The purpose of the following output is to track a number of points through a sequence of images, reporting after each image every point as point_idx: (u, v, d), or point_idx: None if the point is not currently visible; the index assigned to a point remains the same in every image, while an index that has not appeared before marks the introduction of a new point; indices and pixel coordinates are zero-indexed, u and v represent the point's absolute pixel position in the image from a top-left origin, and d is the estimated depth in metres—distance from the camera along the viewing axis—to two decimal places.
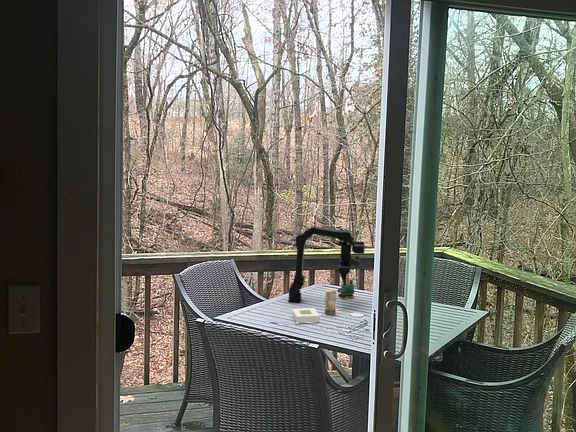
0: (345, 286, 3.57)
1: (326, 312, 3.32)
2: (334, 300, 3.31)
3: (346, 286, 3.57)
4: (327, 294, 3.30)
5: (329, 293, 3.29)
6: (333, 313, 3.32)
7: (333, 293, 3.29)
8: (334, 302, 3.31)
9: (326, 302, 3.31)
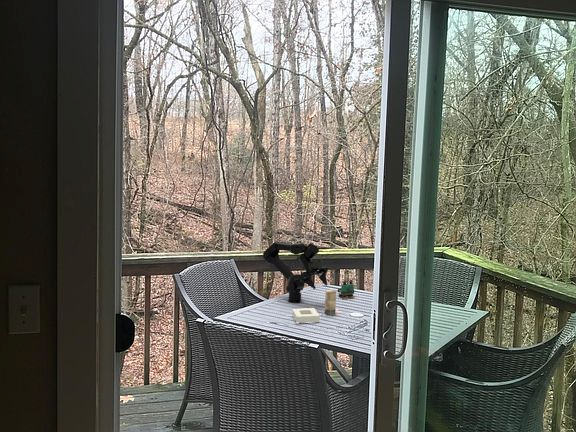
0: (345, 286, 3.57)
1: (326, 312, 3.32)
2: (334, 300, 3.31)
3: (346, 286, 3.57)
4: (327, 294, 3.30)
5: (329, 293, 3.29)
6: (333, 313, 3.32)
7: (333, 293, 3.29)
8: (334, 302, 3.31)
9: (326, 302, 3.31)
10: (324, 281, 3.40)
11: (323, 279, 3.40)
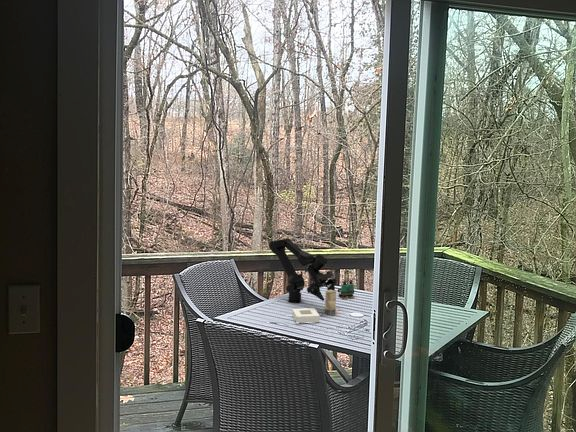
0: (345, 286, 3.57)
1: (326, 312, 3.32)
2: (334, 300, 3.31)
3: (346, 286, 3.57)
4: (327, 294, 3.30)
5: (329, 293, 3.29)
6: (333, 313, 3.32)
7: (333, 293, 3.29)
8: (334, 302, 3.31)
9: (326, 302, 3.31)
10: None
11: None
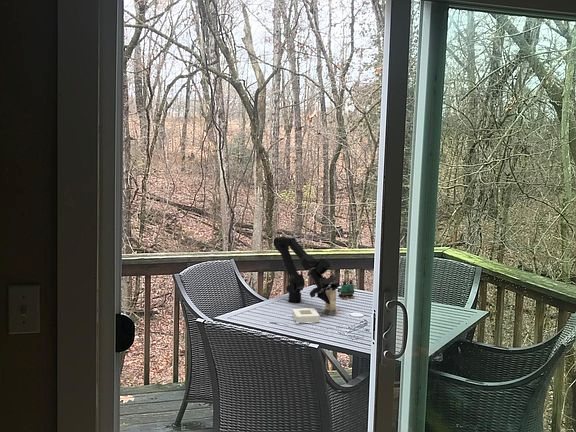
0: (345, 286, 3.57)
1: (326, 312, 3.32)
2: (334, 300, 3.31)
3: (346, 286, 3.57)
4: (327, 294, 3.30)
5: (329, 293, 3.29)
6: (333, 313, 3.32)
7: (333, 293, 3.29)
8: (334, 302, 3.31)
9: None
10: None
11: None
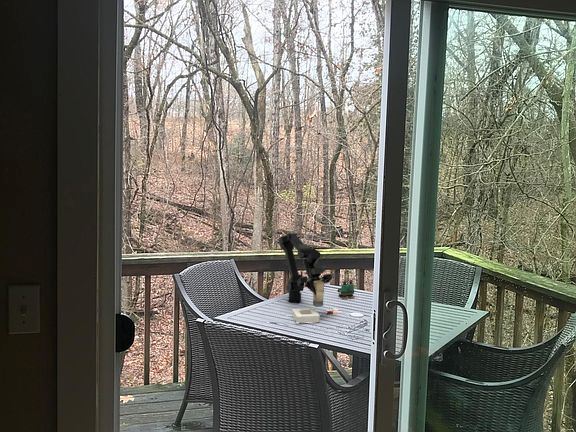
0: (345, 286, 3.57)
1: (314, 303, 3.26)
2: (321, 291, 3.23)
3: (346, 286, 3.57)
4: (314, 284, 3.23)
5: (316, 283, 3.22)
6: (320, 305, 3.24)
7: (320, 284, 3.22)
8: (321, 293, 3.23)
9: None
10: None
11: None
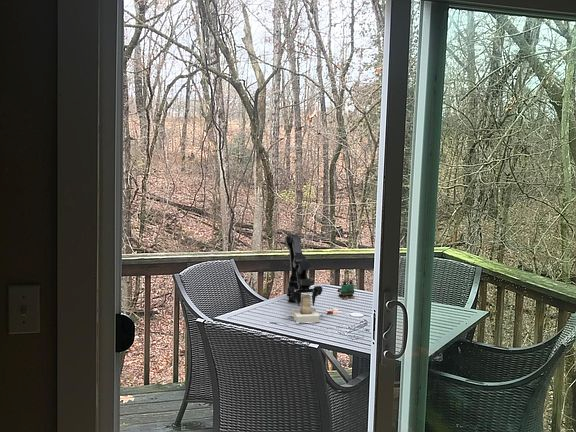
0: (345, 286, 3.57)
1: None
2: (308, 306, 3.21)
3: (346, 286, 3.57)
4: (302, 298, 3.22)
5: (302, 297, 3.21)
6: None
7: (306, 298, 3.20)
8: (308, 308, 3.21)
9: (301, 307, 3.24)
10: (312, 301, 3.23)
11: (312, 298, 3.24)
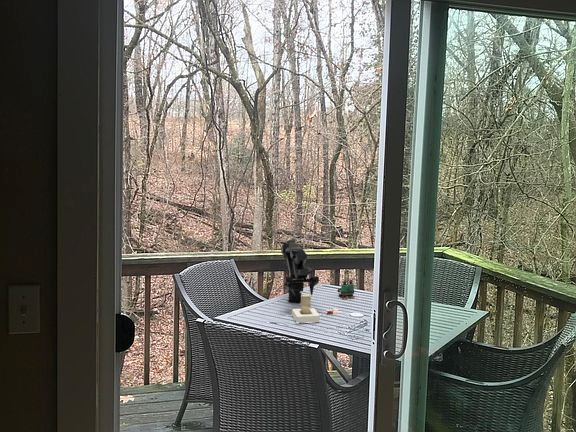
0: (345, 286, 3.57)
1: None
2: (308, 306, 3.21)
3: (346, 286, 3.57)
4: (302, 298, 3.22)
5: (302, 297, 3.21)
6: None
7: (306, 298, 3.20)
8: (308, 308, 3.21)
9: (301, 307, 3.24)
10: (311, 290, 3.32)
11: (310, 288, 3.33)
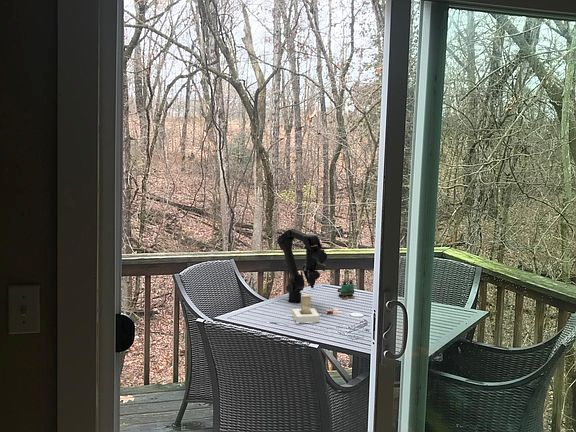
0: (345, 286, 3.57)
1: None
2: (308, 306, 3.21)
3: (346, 286, 3.57)
4: (302, 298, 3.22)
5: (302, 297, 3.21)
6: None
7: (306, 298, 3.20)
8: (308, 308, 3.21)
9: (301, 307, 3.24)
10: None
11: None
